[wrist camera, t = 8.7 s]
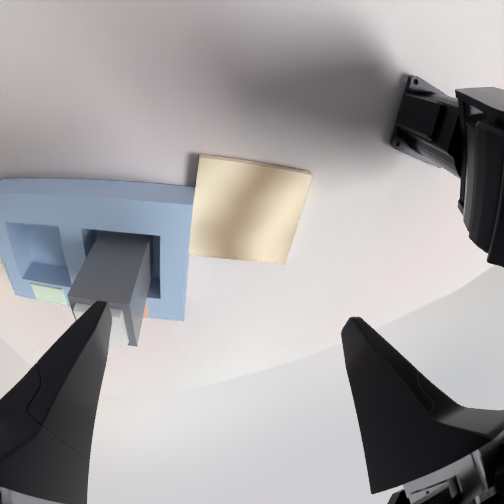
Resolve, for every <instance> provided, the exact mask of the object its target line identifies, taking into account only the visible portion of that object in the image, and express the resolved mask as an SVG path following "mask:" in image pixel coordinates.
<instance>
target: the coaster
mask: <svg viewBox="0 0 504 504" xmlns="http://www.w3.org/2000/svg"><path fill="white" fill-rule="evenodd" d="M312 177H313V175H312V174H311V173H310V172H309V171H304V170H299V169H294V168H289V167H283V166H278V165H272V164H266V163H260V162H254V161H248V160H241V159H234V158H227V157H219V156H211V155H202V154H200V157H199V164H198V172H197V179H196V187H195V196H194V205H193V214H192V224H191V234H190V245H189V255H192V256H202V257H213V258H224V259H234V260H245V261H256V262H267V263H279V264H285V262H286V259H287V256H288V253H289V250H290V247H291V244H292V241H293V238H294V235H295V232H296V229H297V225H298V222H299V219H300V216H301V213H302V210H303V207H304V203H305V200H306V197H307V194H308V190H309V187H310V184H311V181H312Z"/></svg>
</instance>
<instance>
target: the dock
mask: <svg viewBox="0 0 504 504" xmlns="http://www.w3.org/2000/svg"><path fill="white" fill-rule="evenodd" d="M194 196H195V187H190V186H180V185H169V184H158V183H145V182H131V181H115V180H95V179H65V178H10V179H2V180H1V181H0V256H1V258H2V261H3V264H4V267H5V270H6V272H7V275H8V278H9V280H10V283H11V285H12V288H13V290H14V292H15V295H18V296H22V297H26V298H31V299H35V300H39V301H44V302H49V303H54V304H59V305H64V306H70V303H69V300H68V297H67V295H68V292H69V290H70V288H71V286H72V284H73V282H74V280H75V278H76V276H77V274H78V272H79V270H80V268H81V267H82V265H83V263H84V261H85V259H86V257H87V255H88V254H89V252H90V250H91V248H92V246H93V245H94V243H95V241H96V240H97V238H98V236H99V234H100V233H101V231H102V230H104V231H114V232H125V233H136V234H146V235H153V264H154V269H153V273H152V278H151V282H150V286H149V290H148V295H147V299H146V304H145V308H144V313H143V317H145V318H156V319H166V320H176V321H184V317H185V304H186V289H187V274H188V260H189V245H190V234H191V224H192V214H193V205H194Z"/></svg>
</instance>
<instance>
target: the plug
mask: <svg viewBox="0 0 504 504" xmlns="http://www.w3.org/2000/svg"><path fill="white" fill-rule="evenodd" d="M153 269H154V264H153V235H146V234H136V233H125V232H114V231H104V230H102V231H101V233H100V234H99V236H98V238H97V240H96V241H95V243H94V245H93V246H92V248H91V250H90V252H89V254H88V255H87V257H86V259H85V261H84V263H83V265H82V267H81V268H80V270H79V272H78V274H77V276H76V278H75V280H74V282H73V284H72V286H71V288H70V290H69V292H68V295H67V297H68V300H69V303H70V306H71V309H72V312H73V315H74V317H75V320H77V319H78V318H79V317H80V316H81V315H82V314H83V313H84V312H85V311H86V310H87V309H89V308H90V307H91V306H92V305H93V304H94V303H95V302H96V301H97V300H101V301H107V302H108V303H109V306H110V311H111V315H112V326H111V333H110V340H109V346H114V347H120V348H128V345H131V346H137V344H138V339H139V333H140V328H141V323H142V318H143V313H144V308H145V304H146V299H147V295H148V290H149V286H150V282H151V278H152V273H153Z"/></svg>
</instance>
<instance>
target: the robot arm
mask: <svg viewBox="0 0 504 504" xmlns="http://www.w3.org/2000/svg"><path fill="white" fill-rule="evenodd" d="M414 80H415V84H414ZM455 93H456V98H458V99H456V98H453V97H449V96H447V95H445V94H444V93H443V92H441V91H440V90H438V89H436V88H435V87H433V86H432V85H430V84H429V83H427V82H425V81H424V80H422V79H421V78H419V77H417V76H410V77H409V78H408V82H407V86H406V90H405V93H404V96H403V99H402V103H401V106H400V110H399V113H398V117H397V120H396V125H395V128H394V131H393V134H392V137H391V141H390V144H391V146H392V147H393V148H394V149H396V150H399V151H401V152H404V153H406V154H409V155H411V156H414V157H416V158H418V159H421V160H423V161H425V162H427V163H429V164H432V165H434V166H436V167H438V168H442V167H443V168H444V169H446V170H447V171H449V172H451V173H452V174H454V175H455V176H457V177H458V178H460V179H461V187H460V199H459V200H458V208H459V210H460V211H461V213H462V215H463V219H464V223H465V225H466V228H467V230H468V231H469V238H470V239H471V240H472V241H473V242H474V243H475V244H476V245H477V246H478V247H479V248H480V249H482V250H483V251H484V252H486V253H488V257H487V262H488V263H491V264H495V265H499V266H502V267H504V90H502V89H498V88H494V87H482V88H465V89H455ZM396 141H398V143H397V145H395V143H396ZM111 326H112V315H111V311H110V306H109V303H108V302H107V301H101V300H97V301H96V302H95V303H94V304H93V305H92V306H91V307H90V308H89V309H87V310H86V311H85V312H84V313H83V314H82V315H81V316H80V317H79V318H78V319H77V320H76V321H75V322H74V323H73V324H72V325H71V326H70V328H69V329H68V330H67V331H66V332H65V333H64V334H63V335H62V336H61V337H60V338H59V339H58V340H57V341H56V342H55V343H54V344H53V345H52V346H51V347H50V348H49V350H48V351H47V352H46V353H45V354H44V355H43V356H42V357H41V358H40V359H39V360H38V362H37V363H38V364H37V363H36V364H35V365H34V366H33V367H32V368H31V369H30V370H29V371H28V373H27V374H26V375H25V376H24V377H23V378H22V379H21V380H20V381H19V382H18V383H17V384H16V385H15V386H14V387H13V388H12V389H11V390H10V391H9V392H8V393H7V394H5V395H4V396H3V398H1V400H0V504H87V486H88V473H89V462H90V461H89V460H90V452H91V443H92V436H93V429H94V422H95V416H96V410H97V404H98V399H99V394H100V389H101V384H102V380H103V375H104V371H105V366H106V361H107V355H108V347H109V340H110V333H111ZM341 337H342V344H343V350H344V357H345V364H346V370H347V374H348V378H349V382H350V386H351V391H352V395H353V399H354V404H355V408H356V413H357V417H358V422H359V427H360V432H361V437H362V442H363V447H364V453H365V458H366V464H367V470H368V476H369V482H370V489H371V494H375V493H378V492H382V491H385V490H388V489H391V488H394V487H397V486H400V485H403V486H404V489H402V490H400V491H398V492H395V493H393V494H392V496H391V498H390V500H389V502H388V504H504V410H500V411H498V410H484V409H474V408H466V407H463V406H461V405H459V404H457V403H456V402H454V401H453V400H452V399H451V398H450V397H448V396H447V395H446V394H445V393H443V392H442V391H441V390H440V389H438V388H437V387H436V386H435V385H434V384H432V383H431V382H430V381H429V380H428V379H427V378H426V377H425V376H423V374H422V373H420V372H419V371H418V370H417V369H416V368H415V367H414V366H413V365H412V364H411V363H410V362H409V361H408V360H407V359H405V358H404V357H403V356H402V355H401V354H400V353H399V352H398V351H397V350H396V349H395V348H394V347H392V346H391V345H390V344H389V343H388V342H387V341H386V340H385V339H384V338H383V337H381V335H379V334H378V333H377V332H376V331H375V330H374V329H373V328H372V327H371V326H370V325H368V324H367V323H366V322H365V321H364V320H363V319H362V318H360V317H350V318H349V319H348V321H347V323H346V324H345V326H344V327H343V329H342V332H341Z"/></svg>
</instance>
